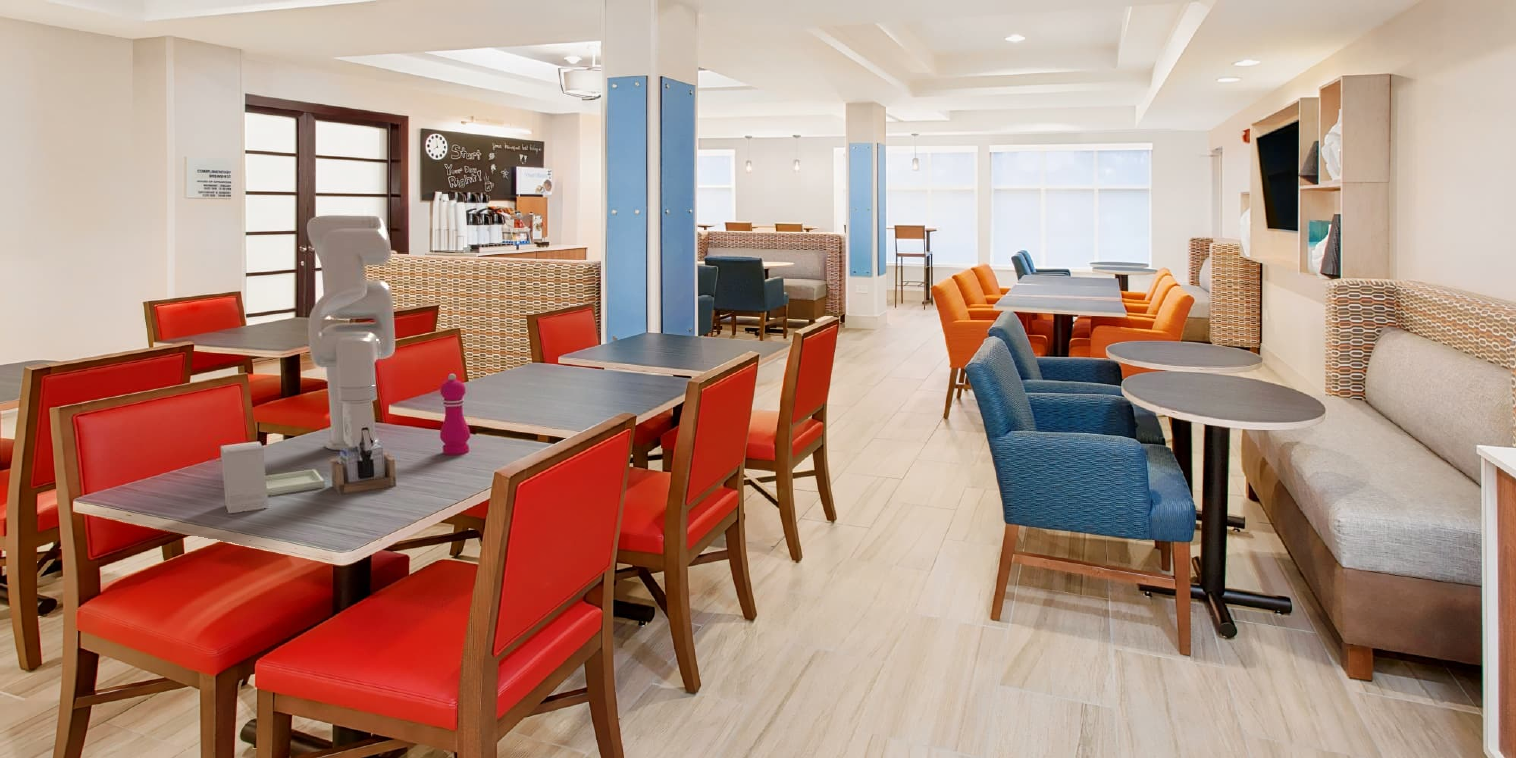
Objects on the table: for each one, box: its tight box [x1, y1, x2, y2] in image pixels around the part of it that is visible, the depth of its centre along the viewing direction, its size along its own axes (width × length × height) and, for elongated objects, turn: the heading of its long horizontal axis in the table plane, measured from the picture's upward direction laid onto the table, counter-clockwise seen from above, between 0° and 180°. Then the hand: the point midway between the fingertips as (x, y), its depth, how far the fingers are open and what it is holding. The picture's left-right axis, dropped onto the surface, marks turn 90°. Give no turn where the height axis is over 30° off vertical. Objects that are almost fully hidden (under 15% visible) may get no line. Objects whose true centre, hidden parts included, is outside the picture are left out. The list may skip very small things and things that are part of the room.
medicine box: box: [339, 444, 385, 483], centre depth 206 cm, size 8×4×9 cm, turn 133°
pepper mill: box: [439, 373, 471, 456], centre depth 235 cm, size 7×7×20 cm
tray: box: [266, 468, 326, 497], centre depth 206 cm, size 11×11×2 cm
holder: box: [329, 451, 397, 495], centre depth 206 cm, size 8×12×6 cm, turn 125°
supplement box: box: [220, 441, 269, 514], centre depth 190 cm, size 7×7×13 cm
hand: (363, 474), depth 206 cm, fingers closed on medicine box, 4 cm apart
